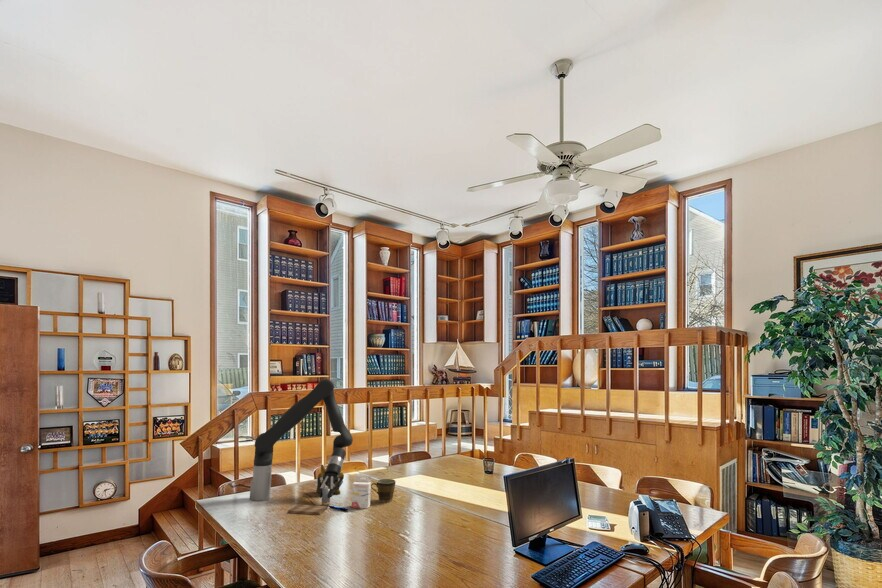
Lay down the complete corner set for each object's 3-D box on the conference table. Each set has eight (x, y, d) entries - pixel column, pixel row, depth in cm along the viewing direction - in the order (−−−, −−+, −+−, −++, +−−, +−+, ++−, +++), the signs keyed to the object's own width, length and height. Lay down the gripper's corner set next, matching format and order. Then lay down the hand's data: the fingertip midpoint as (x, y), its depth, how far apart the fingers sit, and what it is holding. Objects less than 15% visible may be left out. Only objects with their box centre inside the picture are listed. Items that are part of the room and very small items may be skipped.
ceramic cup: (392, 497, 256) (393, 478, 257) (397, 502, 246) (397, 482, 248) (368, 499, 252) (369, 479, 253) (372, 504, 242) (372, 484, 244)
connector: (320, 505, 239) (321, 487, 240) (323, 503, 243) (324, 485, 244) (327, 505, 238) (328, 487, 239) (331, 503, 242) (331, 485, 243)
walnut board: (287, 513, 228) (288, 510, 228) (297, 506, 237) (297, 504, 237) (319, 514, 225) (319, 511, 225) (327, 508, 235) (327, 505, 235)
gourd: (318, 490, 269) (319, 464, 271) (343, 489, 271) (344, 463, 273) (315, 497, 256) (316, 470, 257) (342, 496, 258) (343, 469, 259)
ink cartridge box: (351, 508, 237) (352, 477, 239) (353, 505, 241) (355, 474, 244) (368, 508, 236) (369, 477, 238) (370, 505, 241) (371, 475, 243)
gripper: (320, 462, 251) (309, 492, 238) (345, 463, 249) (336, 493, 236) (323, 470, 256) (312, 500, 242) (348, 471, 254) (339, 502, 240)
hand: (324, 496), depth 239 cm, fingers closed on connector, 4 cm apart
